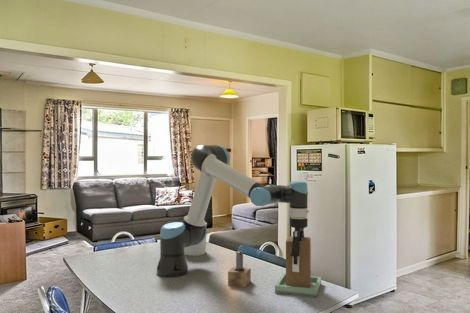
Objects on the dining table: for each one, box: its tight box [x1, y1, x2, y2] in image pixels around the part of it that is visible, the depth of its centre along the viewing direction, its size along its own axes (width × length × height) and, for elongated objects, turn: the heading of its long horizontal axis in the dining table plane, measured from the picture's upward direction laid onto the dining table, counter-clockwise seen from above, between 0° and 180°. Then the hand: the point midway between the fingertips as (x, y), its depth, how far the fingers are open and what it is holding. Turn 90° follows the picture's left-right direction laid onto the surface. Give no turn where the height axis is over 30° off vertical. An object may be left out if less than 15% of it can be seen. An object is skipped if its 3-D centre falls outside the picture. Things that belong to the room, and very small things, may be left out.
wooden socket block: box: [227, 266, 252, 288], centre depth 169 cm, size 8×8×6 cm
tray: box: [274, 273, 322, 298], centre depth 163 cm, size 17×17×3 cm
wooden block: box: [285, 236, 312, 288], centre depth 163 cm, size 10×10×20 cm
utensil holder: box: [184, 222, 208, 257], centre depth 223 cm, size 15×15×18 cm
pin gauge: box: [235, 250, 244, 271], centre depth 169 cm, size 3×3×14 cm
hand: (298, 267), depth 163 cm, fingers open, 13 cm apart
